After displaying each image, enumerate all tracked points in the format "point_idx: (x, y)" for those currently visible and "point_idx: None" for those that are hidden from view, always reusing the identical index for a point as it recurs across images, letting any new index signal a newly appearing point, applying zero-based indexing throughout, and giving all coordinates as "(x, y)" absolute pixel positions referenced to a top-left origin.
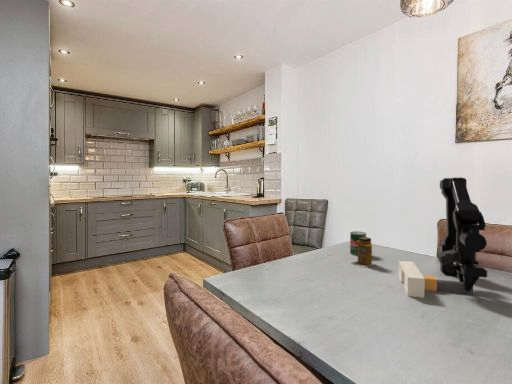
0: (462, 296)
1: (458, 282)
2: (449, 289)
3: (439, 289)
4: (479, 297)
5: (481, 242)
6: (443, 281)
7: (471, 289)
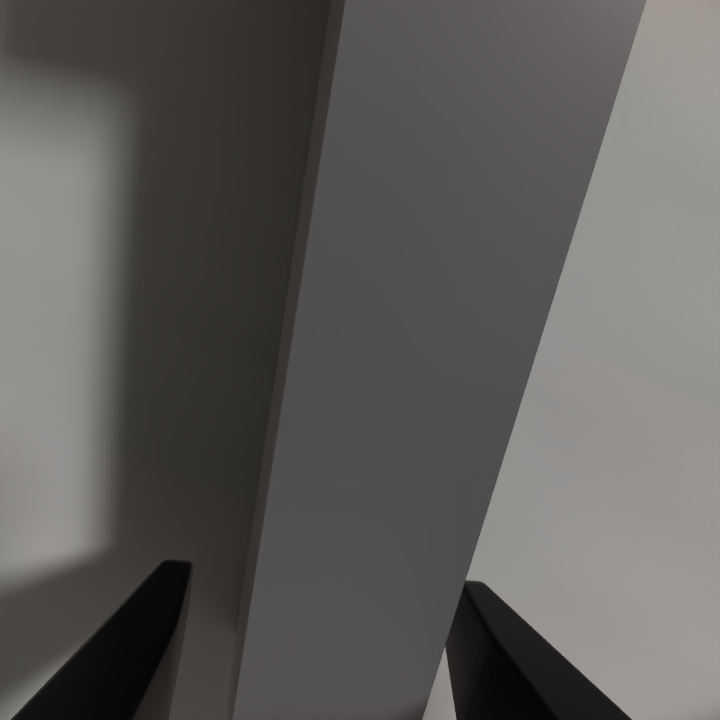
0: (9, 398)
1: (384, 587)
2: (293, 261)
3: (333, 1)
4: (59, 660)
5: None
6: (447, 155)
7: (232, 683)
